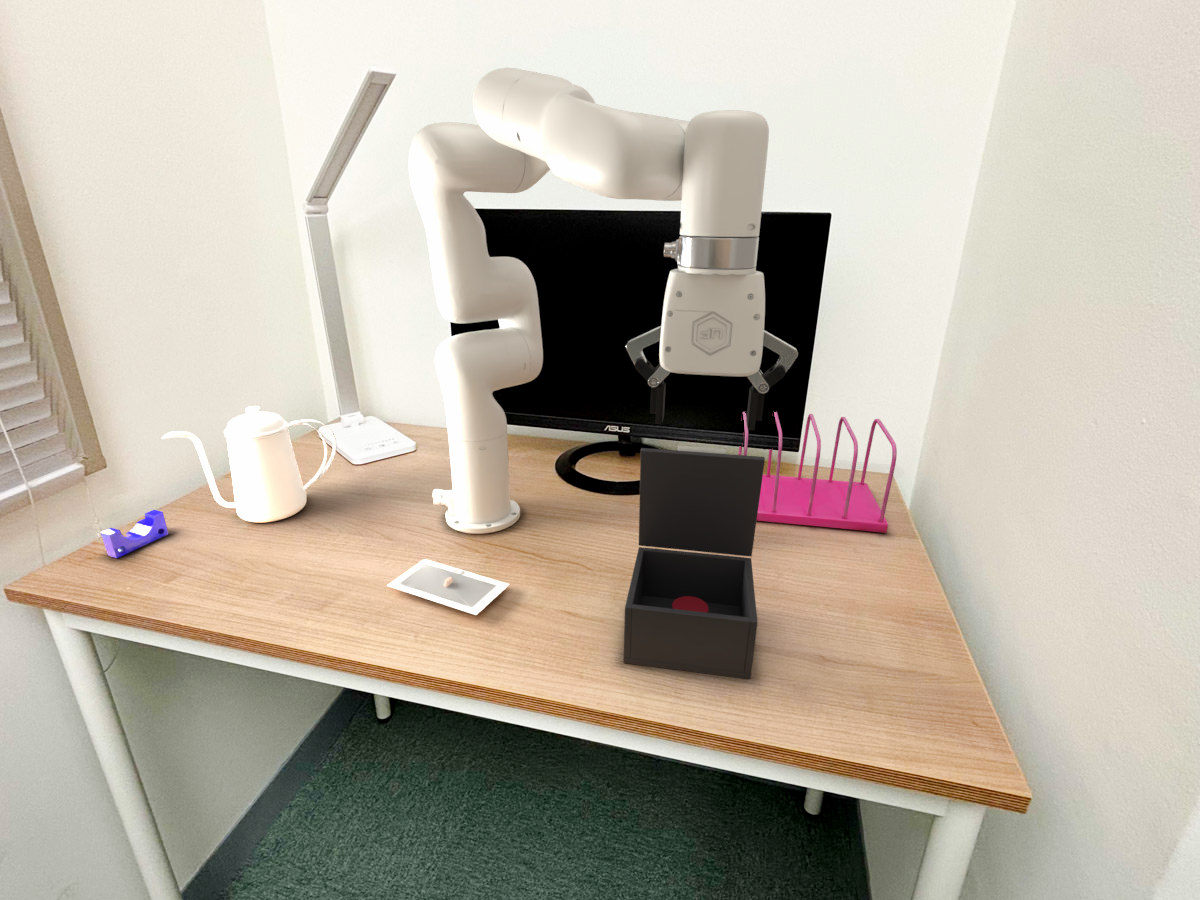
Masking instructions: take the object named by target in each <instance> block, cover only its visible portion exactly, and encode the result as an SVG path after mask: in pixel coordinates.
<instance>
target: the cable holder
mask: <svg viewBox="0 0 1200 900" xmlns="http://www.w3.org/2000/svg"><path fill="white" fill-rule="evenodd" d="M169 533H170V532H169V529H168V526H167V521H166V519H165V515H164V512H163V511H160V510H157V509H152V510H150V511H148V512H146V513H144V518H143V519H140V520H138V521H137V522H136V523H135V526H134V527H133V528H131V529H130V530H129V531H127V532H126V533H125V534H126V536H125V535H124V534H123V533H122V531H121V529H118V528H117V529H116V528H113V527H110V528H107V529H105V530H101V531H100V536H101V538H102V541H103V545H104V548H105V551H106V554H107V556H108V557H110V558H114V559H118V558H121V557H123V556H125V555H128V554H130V553H132V552H134V551H136V550H138V549H140V548H142V547H144V546H147V545H148V544H151V543H153V542H155V541H157V540H160V539H162V538H164V537H166V536H168V535H169Z"/></svg>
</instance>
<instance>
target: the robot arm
mask: <svg viewBox="0 0 1200 900" xmlns="http://www.w3.org/2000/svg"><path fill="white" fill-rule="evenodd" d="M471 102H472V104H471V105H472V111H473V115H474V117H475V120H476V122H477V124H475V123H474V124H473V123H466V122H456V121H455V122H452V121H445V122H443V121H442V122H434V123H430V124H427V125H425V126H423V127H421V128H420V129H419V130H418V131H417V132H416V133H415V135H414V136H413V138H412V140H411V143H410V147H409V153H408V174H409V175H408V176H409V182H410V187H411V190H412V194H413V196H414V200H415V202H416V205H417V208H418V211H419V213H420V216H421V219H422V222H423V225H424V230H425V234H426V239H427V247H428V253H429V260H430V261H429V262H430V268H431V274H432V280H433V281H432V282H433V288H434V294H435V298H436V304H437V308H438V310H439V313H440V315H441V316H442V318H444V319H445V320H446V321H448V322H449V323H453V324H473V323H482V322H489V321H490V322H491V321H498V325H499V327H498V328H491V329H482V330H475V331H467V332H463V333H458V334H455V335H452V336H449V337H448V338H446V339H445V340H443V341H442V342H441V343H440V344H439V346H437V348H436V350H435V354H434V365H435V371H436V375H437V379H438V382H439V385H440V390H441V393H442V397H443V403H444V409H445V416H446V418H445V419H446V428H447V438H448V449H449V450H448V451H449V462H450V474H451V475H450V476H451V485H452V486H451V487H452V488H451V489H442V488H434V489H432V493H431V498H432V505H434V506H439V507H440V506H445V507H446V508H447V509H446V511H445V514H444V515H445V523H446V524H447V526H449V527H450V528H451V529H452V530H455V531H457V532H460V533H465V534H473V535H474V534H475V535H476V534H477V535H478V534H479V535H482V534H483V535H484V534H490V533H496V532H500V531H503V530H506V529H508V528H509V527H511V526H513V525H514V524H516V523H517V522H518V520H519V519H520V517H521V507H520V505H519V504H518V503H517V501H515V500H514V499H511V483H510V459H509V458H510V457H509V438H508V422H507V416H506V413H505V410H504V409H503V407H502V406H501V405H500V404H499V403H498V401H497V400H496V399H495V397H494V395H493V393H494V392H495V391H499V390H501V389H502V390H503V389H506V388H511V387H515V386H519V385H523V384H528V383H530V382H532V381H533V380H535V379H536V378H538V376H539V375H540V373H541V371H542V368H543V364H544V348H543V337H542V336H543V335H542V326H541V317H540V315H541V314H540V305H539V297H538V296H539V295H538V289H537V285H536V281H535V279H534V276H533V274H532V271H531V270H530V269H529V267H528V266H527V265H526V264H525V263H524V262H523V261H522V260H520V259H519V258H516V257H513V256H490V254H489V251H488V250H489V249H488V243H487V234H486V228H485V225H484V222H483V220H482V218H481V217H480V215H479V213H478V212H477V210H476V208H475V207H474V206H473V204H472V203H471V202H470V201H469V200H468V199H467V197H466V196H465V195H464V193H466V192H467V193H468V192H471V193H491V194H492V193H495V194H518V193H522V192H524V191H527V190H529V189H530V188H532V187H533V186H534V185H536V184H537V183H538V182H539V181H540V180H541V179H542V178H544V176H546V174H547V173H549V172H552V173H553V175H554V176H555V177H557V178H558V179H560V180H562V181H564V182H566V183H568V184H570V185H573V186H575V187H578V188H581V189H583V190H585V191H587V192H588V191H589V192H591V193H593V194H596V195H598V196H599V195H600V196H602V197H605V198H609V199H615V200H641V201H643V200H645V201H647V200H648V201H662V202H676V201H677V202H678V201H681V203H680V205H681V206H680V221H679V235H680V236H679V237H678V239H676V240H675V241H671V242H664V245H663V257H664V258H671V259H674V260H675V262H677V268H674V269H671V270H670V271H669V274H668V277H667V281H666V287H665V291H664V296H663V297H664V298H663V305H662V315H661V324H660V326H657V327H655V328H653V329H650V330H649V331H647V332H643V333H642V334H640V335H638V336H636V337H633V338H631V339H630V340H628V341H627V343H626V344H625V349H626V352H627V353H628V356H629V358H630V359H631V362H632V363H633V365H634V369H635V370H636V371H637V373H639V375H640V376H641V377H642V378H643V379H644V380H645V381H646V382H647V385H648V386H649V387H650V398H649V399H650V400H649V414H653V415H655V422H654V423H655V424H656V425H661V424H662V423H663V421H664V418H665V405H666V390H667V389H666V388H667V387H666V386H667V383H666V382H665V379H666V378H667V377H668V376H669V375H670V374H671V373H674V374H680V375H681V374H684V375H698V376H699V375H700V376H717V377H718V376H720V377H746V378H747V379H748V380H749V382H750V383H751V384H752V385H751V387H749V389H748V390H749V392H748V399H747V400H748V401H747V410H746V417H747V420H746V421H747V428H748V431H755V429H756V423H757V421H762V420H763V416H764V415H763V413H764V406H765V398H766V397H765V396H766V393H768V392H769V390H770V389H771V388H772V387H773V386H774V385H776V384H777V383H778V382H780V381H781V380H782V379H783V378H784V377H785V376H786V373H787V372H788V370H789V369H790V368H791V367H792V366H793V364H794V362H795V361H796V359H797V358H798V356H799V352H798V350H797V348H796V347H794V346H793V345H791V344H789V343H787V341H784V340H782V339H781V338H779V337H777V336H775V335H774V334H772V333H770V332H768V331H767V330H765V317H766V288H765V287H766V286H765V275H764V272H762V271H759V270H757V261H758V252H759V241H760V237H759V236H760V232H761V231H760V229H761V220H762V219H761V218H762V209H763V201H764V190H765V180H766V170H767V169H766V168H767V161H768V149H769V142H770V141H769V139H770V138H769V137H770V128H769V123H768V120H767V119H766V117H764V116H763V115H762V114H760V113H758V112H756V111H751V110H750V111H749V110H738V109H724V110H722V109H721V110H713V111H705V112H701V113H699V114H696V115H694V117H692V118H691V119H690V120H683V119H679V118H671V117H668V116H660V115H654V114H650V113H649V114H648V113H643V112H634V111H628V110H622V109H618V108H613V107H609V106H605V105H602V104H598V103H596V101H595V99H594V97H593V96H592V94H590V92H589V91H588V90H587V89H585V88H584V87H582V86H581V85H577V84H573V83H572V82H571V81H569V80H568V79H566V78H563V77H561V76H557V75H553V74H552V75H551V74H548V73H541V72H535V71H532V70H527V69H522V68H516V67H501V68H496V69H493V70H492V71H489V72H487V73H486V74H484V76H482V77H481V78H480V79H479V81H477V84H476V86H475V88H474V90H473V95H472V101H471ZM658 342H659V350H658V351H659V353H658V356H659V359H658V360H659V364H657V366H654V365H653V364H652V363H651V362H650V361H649V360H648V359H647V358H646V356H645V354H644V349H645V348H648V347H649V346H652V345H654V344H656V343H658ZM764 347H765V348H766V349H769V350H770V351H772V352H774V353H775V354H777V355H778V356H779V357H778V359H777V361H776V362H775V364H774V365H773V366H771V367H770V368H768V369H767V370H766V371H765V372H764V373H763V372H762V370H761V369H760V368H761V364H762V358H763V350H764Z"/></svg>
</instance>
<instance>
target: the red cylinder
mask: <svg viewBox="0 0 1200 900" xmlns="http://www.w3.org/2000/svg"><path fill="white" fill-rule="evenodd" d="M672 609H679V610H688V611H697V612H706V613H708V610H709V608H708V605H707V604H706V603H705V602H704V601H703V600H701V599H699V598H697V597H692V596H683V597H679V598H677V599H676V600H674V602H673V603H672Z"/></svg>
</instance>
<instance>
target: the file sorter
mask: <svg viewBox="0 0 1200 900" xmlns="http://www.w3.org/2000/svg"><path fill="white" fill-rule="evenodd" d="M745 412H746V411H743V412H742V414H743V420H744V446H742V447H741V446H739V445H738V454H737V455H745V456H748V446H749V429H748V428H747V421H746V420H747V412H746V413H745ZM773 412H774V411H773ZM774 417H775V424H776V429H777V433H778V448H777V449H778V450H777V459H776V467H775V468H776V470H775V475H773V474H771V468H772V457H773V449H772V450H771V449H769V448H768V459H767V468H766V469H767V470H766V474H765V473H763V477H762V484H761V491H760V499H759V506H758V513H757V521H756V522H758V521H759V522H767V523H768V522H770V523H781V524H789V525H791V524H792V525H800V526H801V525H803V526H811V527H823V528H831V529H833V528H834V529H843V530H852V531H865V532H875V533H887V532H888V528H889V523H888V521H887V520H886V517H885V514H886V510H887V505H888V502H889V497H890V492H891V488H892V482H893V478H894V473H895V469H896V465H897V463H896V462H897V455H898V454H897V453H898V450H897V444H896V442H895V439H893V437H892V435H891V434H890V432H889V431H888V429H887V428H886V426H885V425H884V423H883V422H882V421H881V419H880V418H874V419H873V421H872V424H871V427H870V432H869V437H868V440H867V446H866V451H865V457H864V461H863V468H862V473H861V478H860V482H859V481H854V480H855V474H856V468H857V462H858V457H859V456H858V455H859V445H858V444H859V443H858V439H857V437H856V434H855V433H854V431H853V429H852V427H851V425H850V422H848V420H847V418H846V417H845V416H841V417H840V418H839V421H838V425H837V431H836V436H835V440H834V441H835V442H834V448H833V452H832V453H833V454H832V459H831V465H830V470H829V471H830V472H829V479H824V478H818V471H819V466H820V459H821V451H822V440H821V435H820V430H819V428H818V426H817V425H818V424H817V422H816V418H815V416H814V414H813V413H809V414H808V415H807V419H806V424H805V429H804V435H803V442H802V449H801V455H800V460H799V467H798V473H797V476H787V475H780V474H781V473H780V472H781V471H780V470H781V462H782V454H783V453H782V452H783V451H782V450H783V430H782V427H781V423H780V419H779V414H778V411H776V412H774ZM810 424H811V425H812V428H813V431H814V435H815V438H816V452H815V453H816V454H815V460H814V468H813V474H812V478H810V477H802V473H803V467H804V462H805V461H804V460H805V455H806V449H807V441H808V438H809V437H808V436H809V430H810ZM843 424H844V426H845V427H846V430H847V432H848V434H849V436H850V438H851V440H852V443H853V457H852V464H851V470H850V474H849V479H848V480H835V479H833V477H834V471H835V465H836V461H837V454H838V449H839V442H840V436H841V431H842V426H843ZM877 425H878V426H879V428H880V429H881V431H882V433H883V434H884V435H885V437H886V439H887V440H888V442H889V443H890V445H891V450H892V451H891V462H890V467H889V473H888V477H887V481H886V486H885V487H886V488H885V491H884V496H883V499H882V504H881V508H880V506H879V503H878V502H877V500H876V498H875V496H874V494H873V492H872V490H871V489H870V487H869V485H868V483H867V482H865V481H866V480H865V479H866V474H867V468H868V463H869V459H870V453H871V448H872V443H873V438H874V433H875V429H876V426H877ZM742 453H743V454H742Z"/></svg>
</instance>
